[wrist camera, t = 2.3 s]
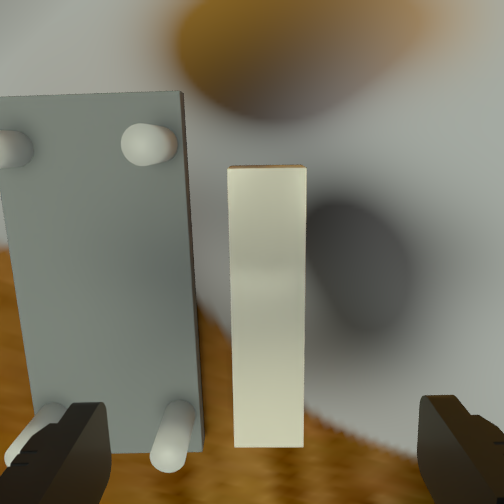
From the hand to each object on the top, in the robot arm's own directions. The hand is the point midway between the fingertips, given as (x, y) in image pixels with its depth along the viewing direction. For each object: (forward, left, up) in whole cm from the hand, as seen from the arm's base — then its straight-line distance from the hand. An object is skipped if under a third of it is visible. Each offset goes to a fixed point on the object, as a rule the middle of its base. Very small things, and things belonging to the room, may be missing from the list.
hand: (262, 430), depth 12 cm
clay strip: (0, 0, -10) cm, 10 cm away
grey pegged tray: (-1, -7, -10) cm, 12 cm away
